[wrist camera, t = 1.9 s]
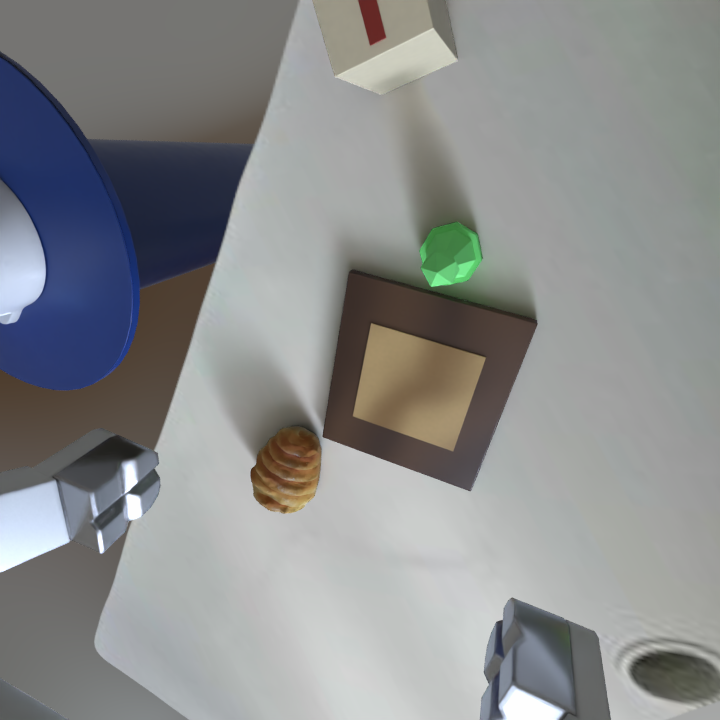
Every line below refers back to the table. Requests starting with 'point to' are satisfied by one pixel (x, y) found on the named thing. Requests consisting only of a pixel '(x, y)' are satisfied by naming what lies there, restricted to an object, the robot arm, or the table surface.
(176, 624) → the table surface
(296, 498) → the pastry
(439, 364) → the brown board
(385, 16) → the letter block
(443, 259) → the game piece
